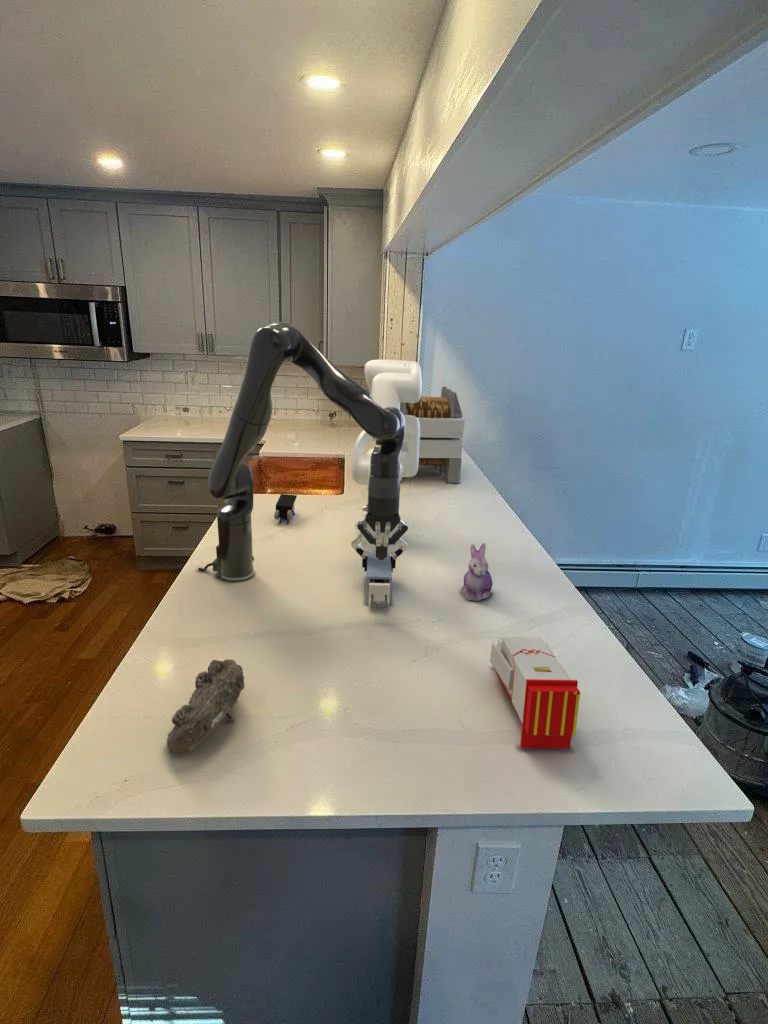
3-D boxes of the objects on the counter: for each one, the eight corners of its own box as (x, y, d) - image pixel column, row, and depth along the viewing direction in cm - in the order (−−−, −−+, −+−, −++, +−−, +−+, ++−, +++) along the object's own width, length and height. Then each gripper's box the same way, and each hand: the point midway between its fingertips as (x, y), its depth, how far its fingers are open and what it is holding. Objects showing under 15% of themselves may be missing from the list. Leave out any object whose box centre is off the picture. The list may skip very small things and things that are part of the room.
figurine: (473, 605, 153) (479, 554, 148) (452, 588, 162) (457, 540, 157) (501, 598, 157) (507, 549, 152) (479, 583, 166) (484, 535, 161)
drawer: (389, 618, 143) (390, 596, 141) (368, 618, 143) (369, 595, 141) (387, 581, 163) (388, 561, 160) (368, 581, 163) (369, 560, 160)
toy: (539, 620, 128) (589, 687, 99) (533, 674, 131) (581, 755, 102) (485, 619, 128) (521, 686, 99) (481, 673, 131) (514, 755, 101)
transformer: (382, 463, 289) (386, 382, 275) (445, 464, 293) (451, 384, 279) (390, 482, 257) (394, 392, 243) (460, 483, 261) (468, 394, 247)
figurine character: (292, 529, 203) (297, 511, 216) (292, 510, 199) (297, 492, 213) (273, 529, 202) (280, 510, 216) (272, 510, 199) (279, 492, 213)
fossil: (192, 660, 117) (244, 628, 112) (224, 691, 120) (276, 661, 115) (142, 746, 98) (202, 712, 93) (182, 779, 101) (242, 748, 96)
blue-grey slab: (390, 604, 152) (392, 577, 149) (366, 604, 152) (367, 576, 149) (388, 578, 167) (390, 552, 164) (366, 577, 167) (367, 551, 164)
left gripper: (355, 496, 131) (354, 564, 137) (412, 498, 132) (408, 566, 137) (356, 487, 138) (355, 552, 144) (410, 488, 139) (406, 553, 145)
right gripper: (348, 514, 151) (347, 575, 157) (413, 516, 151) (409, 576, 157) (349, 505, 158) (348, 563, 164) (411, 507, 158) (408, 565, 164)
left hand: (381, 558), depth 141 cm, fingers closed
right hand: (378, 569), depth 161 cm, fingers closed on blue-grey slab, 6 cm apart
